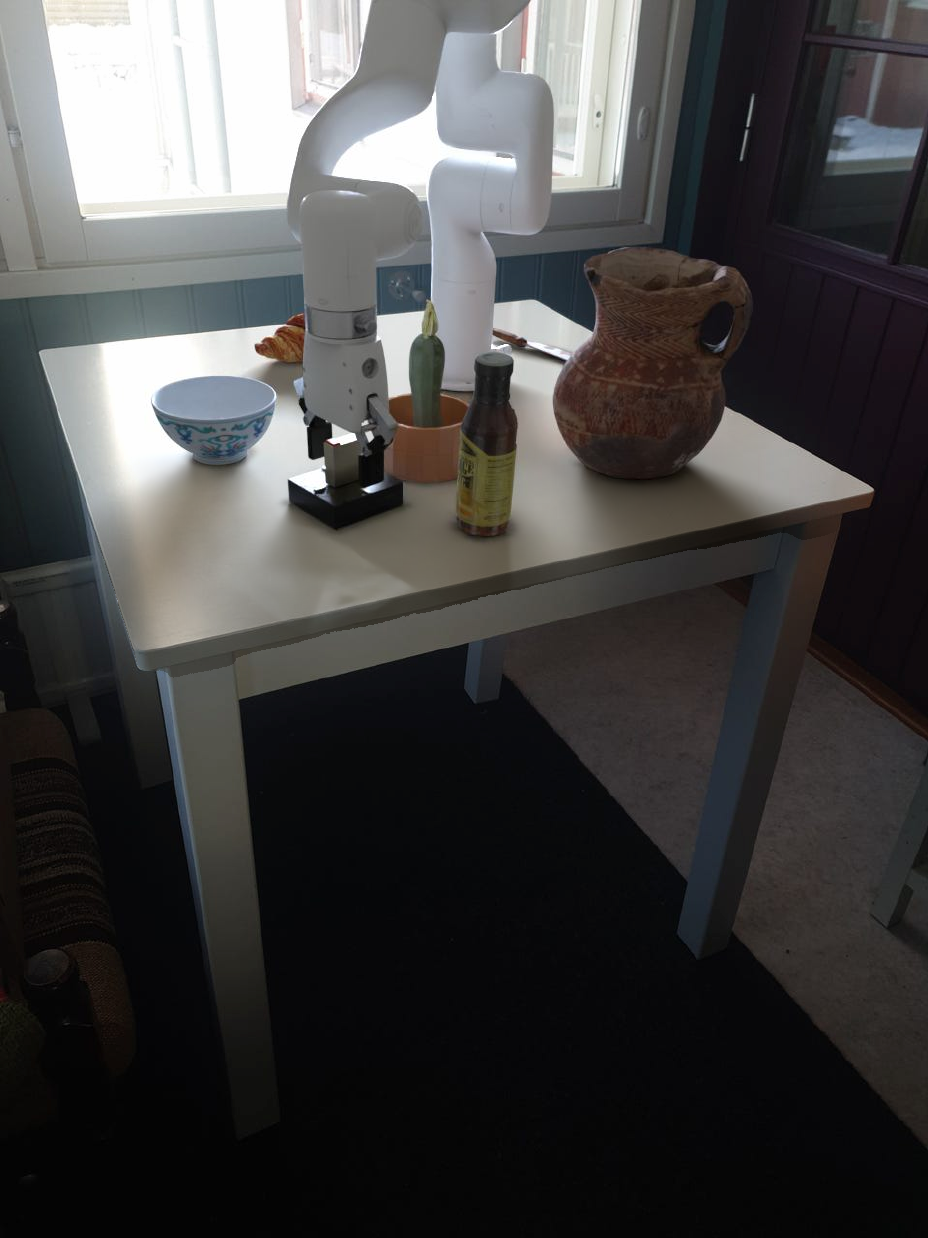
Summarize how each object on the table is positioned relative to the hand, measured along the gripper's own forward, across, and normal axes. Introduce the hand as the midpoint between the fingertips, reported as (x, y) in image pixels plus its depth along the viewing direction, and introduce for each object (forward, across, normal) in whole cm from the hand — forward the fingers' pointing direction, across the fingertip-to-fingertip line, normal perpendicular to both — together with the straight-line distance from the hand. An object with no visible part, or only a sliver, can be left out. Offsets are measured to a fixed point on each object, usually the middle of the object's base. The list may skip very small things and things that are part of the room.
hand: (345, 469), depth 111 cm
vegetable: (+4, +3, -15) cm, 16 cm away
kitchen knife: (+5, +24, -61) cm, 65 cm away
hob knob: (+1, 0, 0) cm, 1 cm away
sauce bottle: (+5, -14, -8) cm, 17 cm away
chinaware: (+5, +21, +4) cm, 22 cm away
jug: (+5, -13, -37) cm, 39 cm away
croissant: (+5, +45, -29) cm, 54 cm away
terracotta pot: (+4, +3, -15) cm, 16 cm away
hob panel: (+4, 0, 0) cm, 4 cm away
